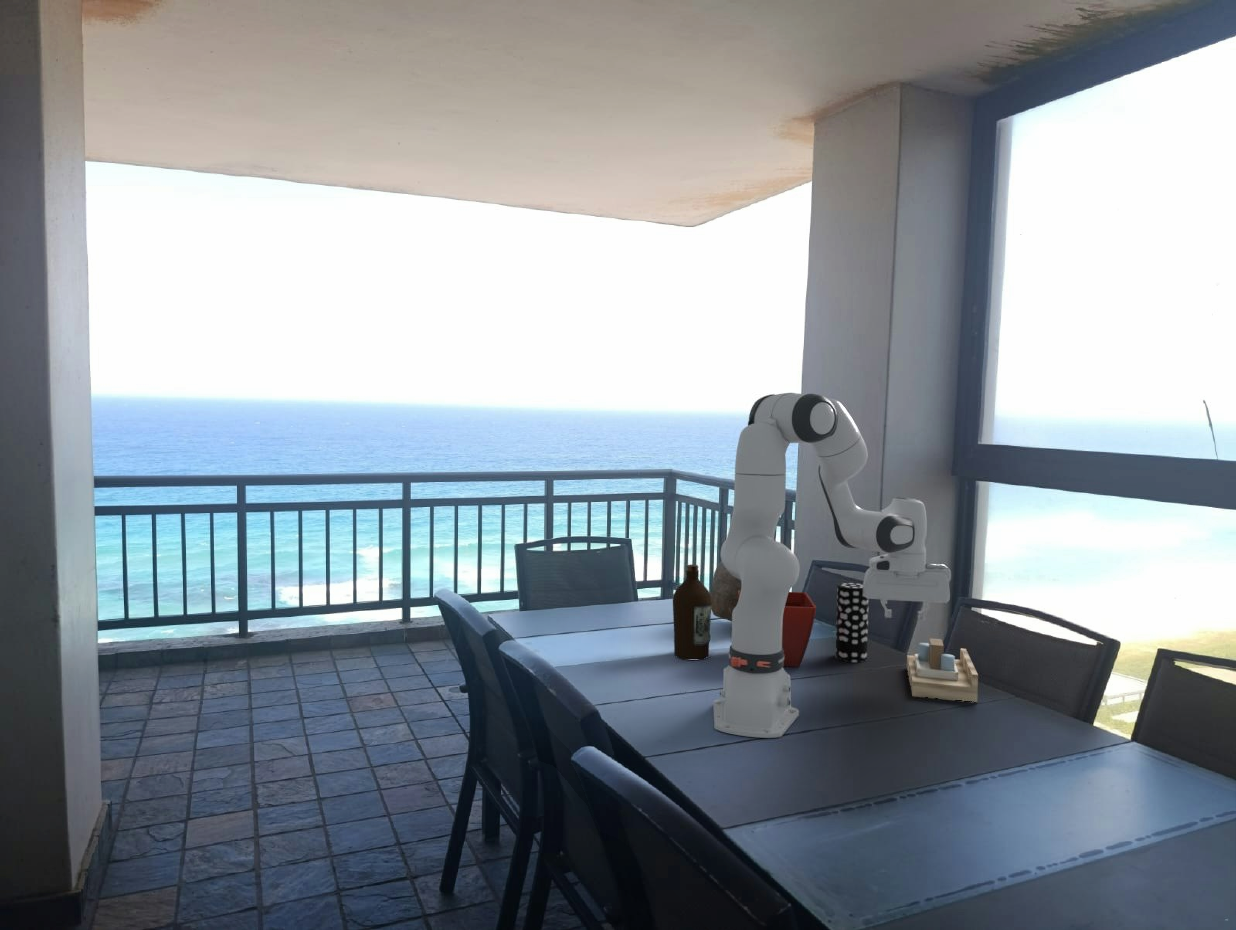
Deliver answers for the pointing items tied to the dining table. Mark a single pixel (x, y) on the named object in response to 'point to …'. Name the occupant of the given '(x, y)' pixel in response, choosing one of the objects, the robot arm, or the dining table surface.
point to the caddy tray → (934, 673)
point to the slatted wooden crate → (946, 681)
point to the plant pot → (796, 626)
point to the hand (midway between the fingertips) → (904, 618)
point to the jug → (724, 592)
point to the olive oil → (692, 617)
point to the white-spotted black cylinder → (851, 622)
